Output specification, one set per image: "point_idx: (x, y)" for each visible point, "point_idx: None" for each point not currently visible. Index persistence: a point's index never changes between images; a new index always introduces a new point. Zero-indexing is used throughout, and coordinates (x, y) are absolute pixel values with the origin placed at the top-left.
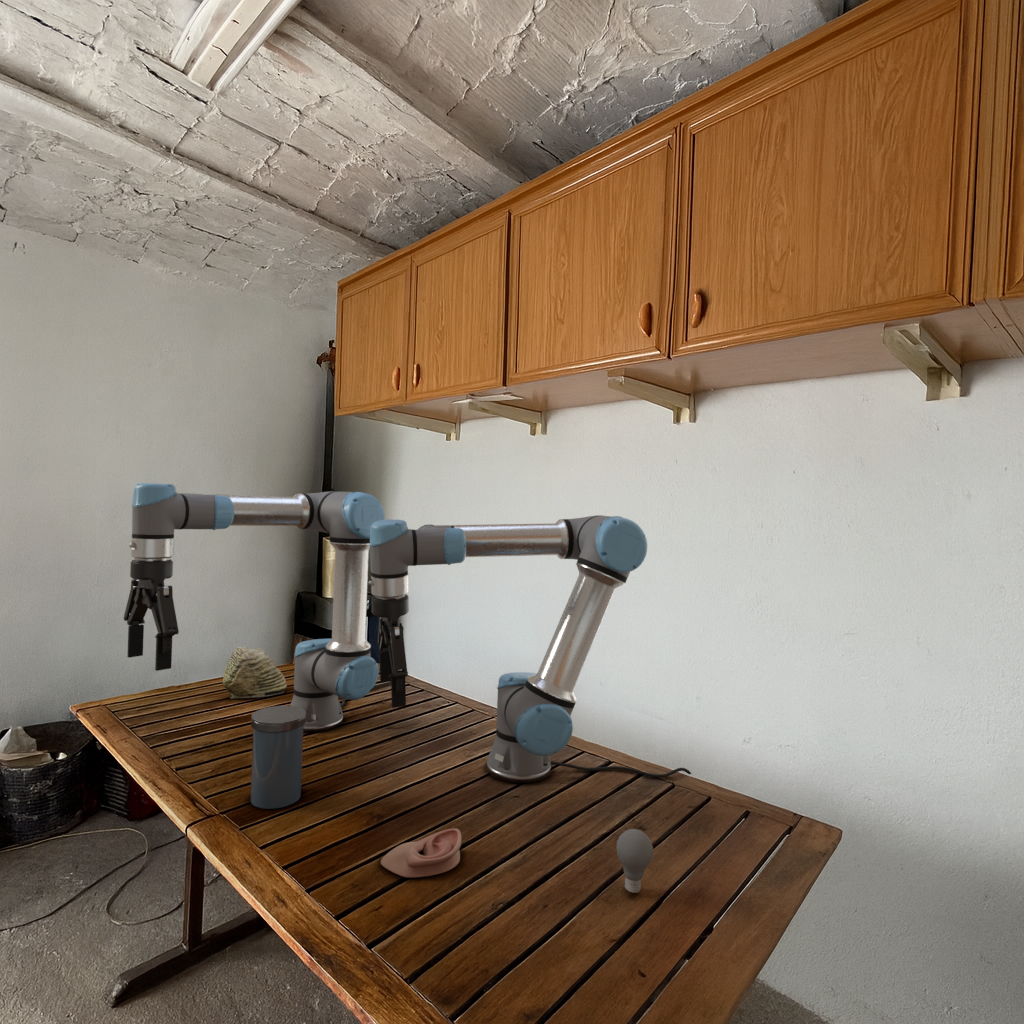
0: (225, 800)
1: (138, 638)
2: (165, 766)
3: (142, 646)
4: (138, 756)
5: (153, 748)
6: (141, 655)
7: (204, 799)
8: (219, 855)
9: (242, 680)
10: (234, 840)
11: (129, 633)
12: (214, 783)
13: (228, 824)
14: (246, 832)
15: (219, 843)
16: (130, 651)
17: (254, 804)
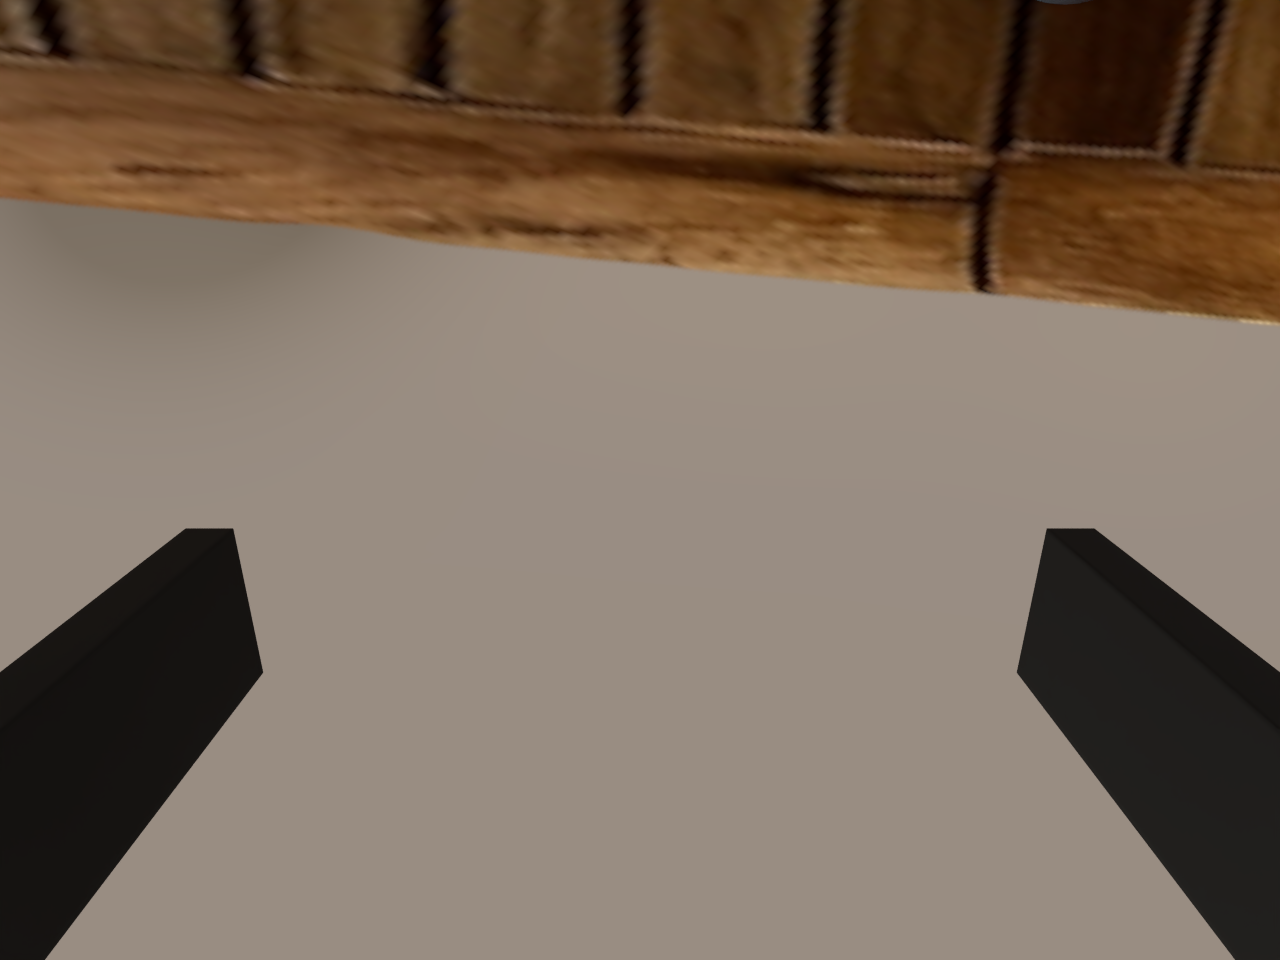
0: (913, 75)
1: (91, 738)
2: (361, 108)
3: (163, 596)
4: (153, 154)
5: (76, 49)
6: (235, 545)
7: (831, 140)
8: (1255, 309)
9: None
10: (1223, 221)
11: (45, 943)
12: (714, 21)
13: (1104, 176)
14: (1218, 156)
15: (1190, 271)
16: (223, 705)
17: (1073, 3)
